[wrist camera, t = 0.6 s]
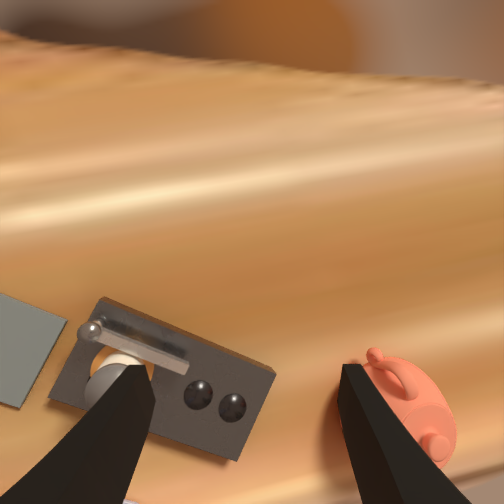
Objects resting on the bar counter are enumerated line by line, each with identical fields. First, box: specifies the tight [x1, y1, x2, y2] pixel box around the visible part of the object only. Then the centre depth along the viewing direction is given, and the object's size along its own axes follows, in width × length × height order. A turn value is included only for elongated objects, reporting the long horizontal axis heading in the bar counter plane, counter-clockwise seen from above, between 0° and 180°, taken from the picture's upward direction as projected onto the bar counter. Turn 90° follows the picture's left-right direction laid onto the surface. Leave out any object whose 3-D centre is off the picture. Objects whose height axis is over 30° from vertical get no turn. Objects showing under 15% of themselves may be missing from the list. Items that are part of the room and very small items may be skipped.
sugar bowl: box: [340, 348, 457, 469], centre depth 34 cm, size 12×14×10 cm
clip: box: [77, 319, 189, 375], centre depth 29 cm, size 2×10×3 cm, turn 64°
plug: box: [85, 339, 154, 409], centre depth 28 cm, size 6×6×8 cm
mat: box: [0, 293, 68, 408], centre depth 29 cm, size 9×8×1 cm
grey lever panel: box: [48, 297, 276, 462], centre depth 32 cm, size 10×20×2 cm, turn 64°
